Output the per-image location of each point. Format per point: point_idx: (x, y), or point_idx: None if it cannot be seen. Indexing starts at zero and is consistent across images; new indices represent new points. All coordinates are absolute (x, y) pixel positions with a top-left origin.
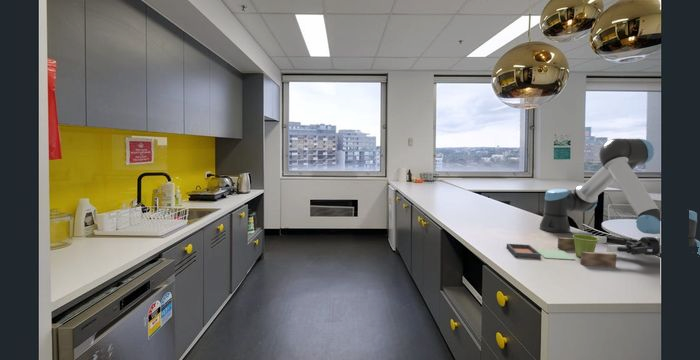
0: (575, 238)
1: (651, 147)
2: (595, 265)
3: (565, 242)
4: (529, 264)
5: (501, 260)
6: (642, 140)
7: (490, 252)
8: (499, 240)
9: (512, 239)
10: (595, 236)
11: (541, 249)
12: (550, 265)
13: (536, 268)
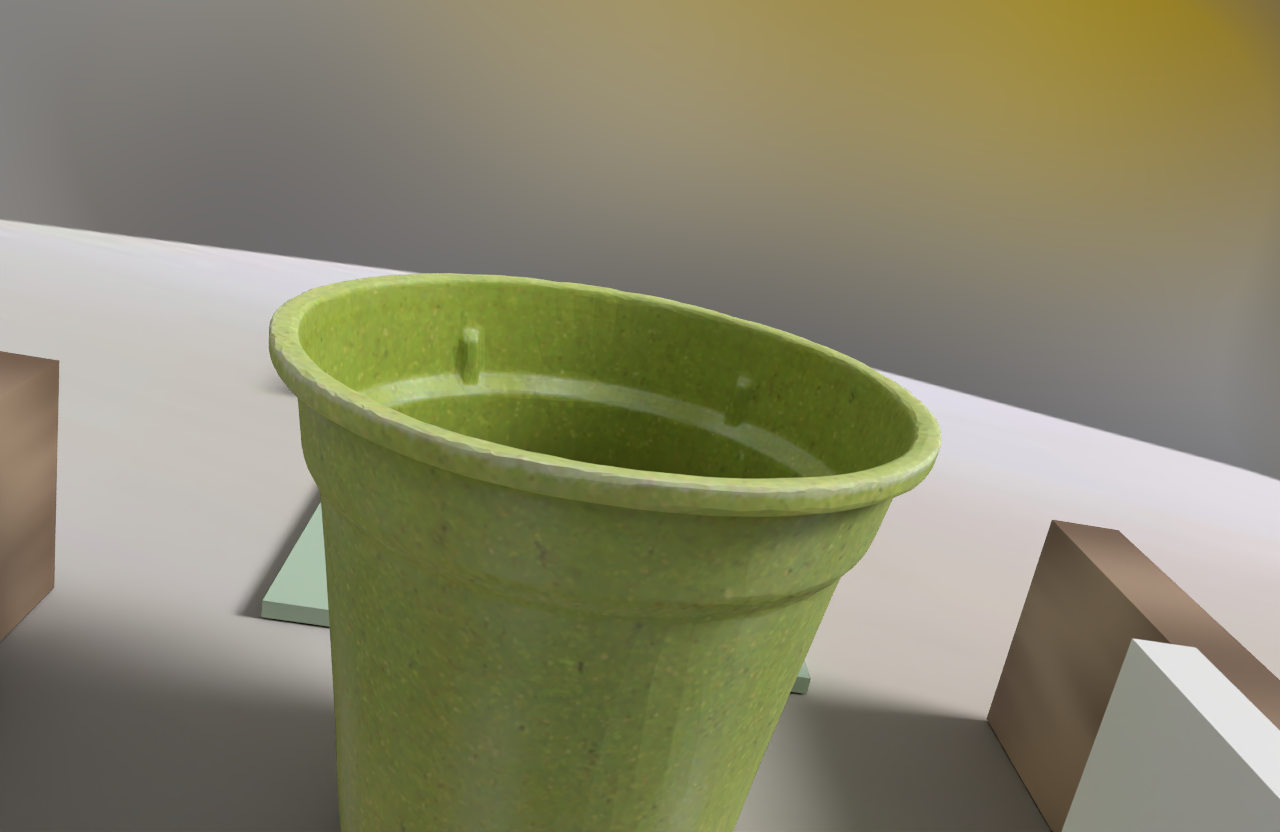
0: (563, 313)
1: None
2: None
3: (1076, 657)
4: (167, 313)
5: (306, 275)
6: None
7: None
8: (1007, 433)
9: (1158, 510)
10: (1277, 762)
11: None
12: (90, 374)
13: (36, 300)
